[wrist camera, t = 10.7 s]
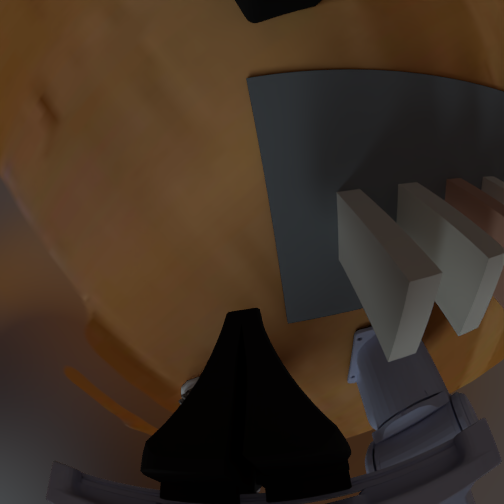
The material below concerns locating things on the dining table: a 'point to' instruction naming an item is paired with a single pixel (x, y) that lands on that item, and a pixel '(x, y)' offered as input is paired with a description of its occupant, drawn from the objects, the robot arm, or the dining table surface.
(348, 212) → the domino
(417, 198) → the domino
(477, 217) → the domino
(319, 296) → the mat
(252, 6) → the battery
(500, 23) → the dining table surface
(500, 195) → the domino
